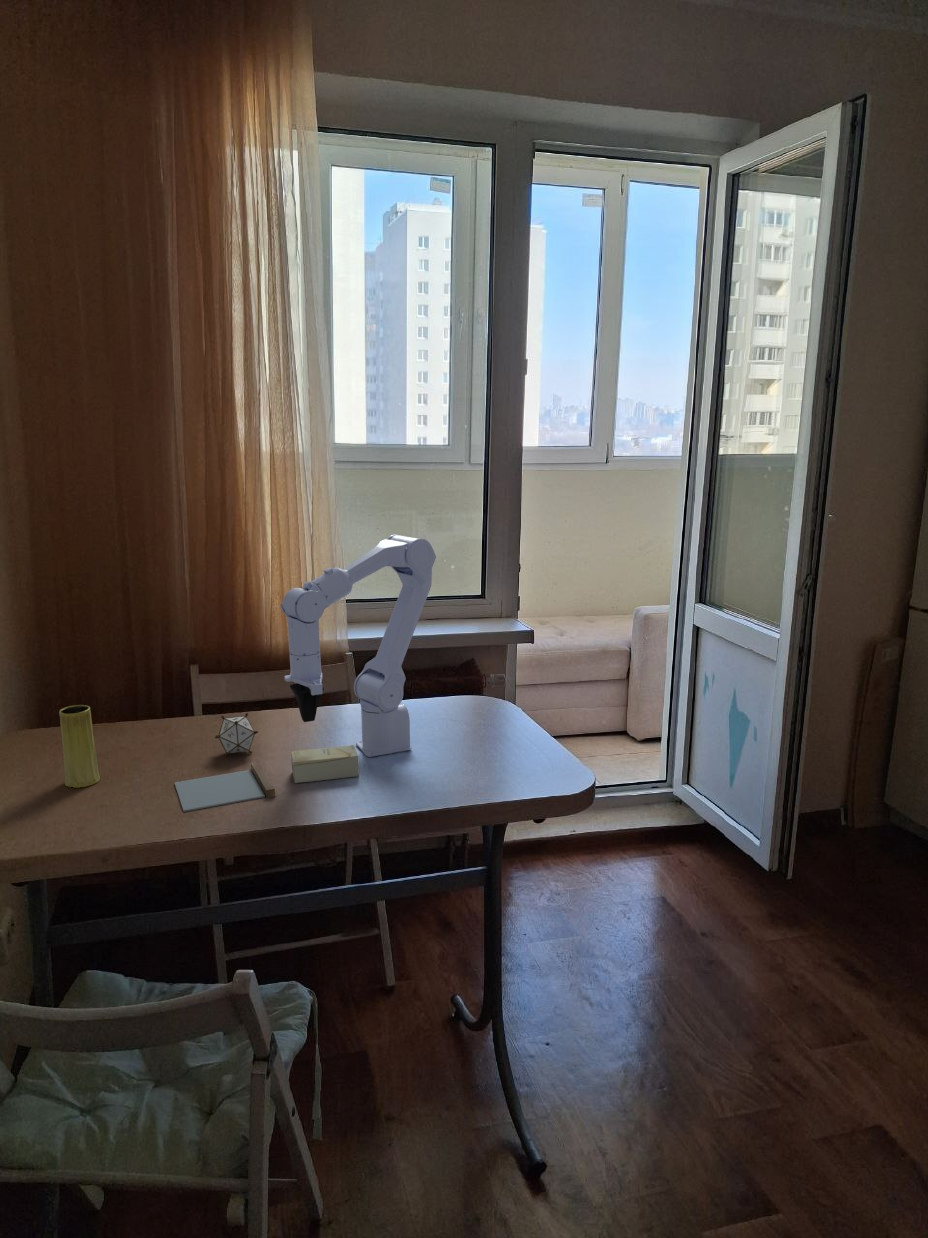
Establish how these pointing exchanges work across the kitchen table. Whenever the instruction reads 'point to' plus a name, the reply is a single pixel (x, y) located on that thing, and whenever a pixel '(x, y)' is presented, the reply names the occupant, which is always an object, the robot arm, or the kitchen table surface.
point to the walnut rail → (263, 779)
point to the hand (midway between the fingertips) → (308, 720)
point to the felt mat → (218, 790)
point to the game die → (236, 734)
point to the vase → (78, 746)
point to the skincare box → (324, 764)
